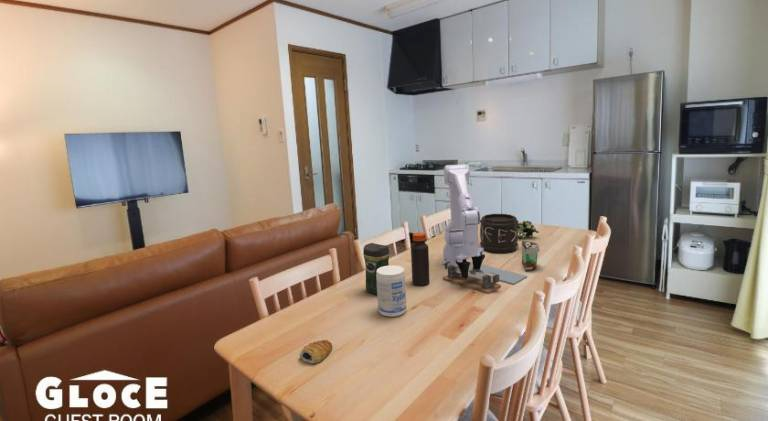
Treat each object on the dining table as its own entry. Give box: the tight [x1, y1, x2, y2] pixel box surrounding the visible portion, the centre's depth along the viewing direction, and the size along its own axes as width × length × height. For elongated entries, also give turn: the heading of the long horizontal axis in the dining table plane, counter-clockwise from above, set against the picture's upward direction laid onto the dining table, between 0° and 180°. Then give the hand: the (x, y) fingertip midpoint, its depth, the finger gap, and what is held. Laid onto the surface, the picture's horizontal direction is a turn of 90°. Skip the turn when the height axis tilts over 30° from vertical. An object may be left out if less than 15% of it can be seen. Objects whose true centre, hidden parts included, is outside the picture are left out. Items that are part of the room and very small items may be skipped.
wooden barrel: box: [479, 213, 520, 254], centre depth 188 cm, size 18×18×16 cm
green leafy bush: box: [518, 220, 540, 241], centre depth 203 cm, size 11×11×12 cm
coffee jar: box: [362, 242, 390, 295], centre depth 146 cm, size 10×8×19 cm
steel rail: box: [444, 262, 500, 284], centre depth 149 cm, size 23×2×2 cm, turn 42°
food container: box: [521, 240, 541, 272], centre depth 162 cm, size 12×6×10 cm, turn 168°
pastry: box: [299, 339, 333, 364], centre depth 108 cm, size 9×7×4 cm
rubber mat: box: [469, 261, 528, 286], centre depth 159 cm, size 26×10×1 cm, turn 42°
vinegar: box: [410, 232, 430, 287], centre depth 151 cm, size 7×7×20 cm
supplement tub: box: [376, 264, 407, 318], centre depth 130 cm, size 10×10×15 cm
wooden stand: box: [442, 263, 501, 295], centre depth 150 cm, size 21×8×6 cm, turn 42°
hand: (470, 275), depth 149 cm, fingers open, 7 cm apart
